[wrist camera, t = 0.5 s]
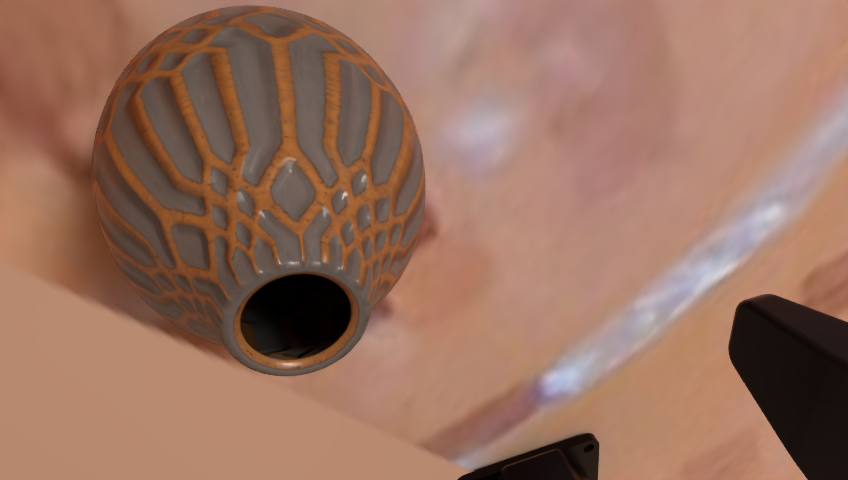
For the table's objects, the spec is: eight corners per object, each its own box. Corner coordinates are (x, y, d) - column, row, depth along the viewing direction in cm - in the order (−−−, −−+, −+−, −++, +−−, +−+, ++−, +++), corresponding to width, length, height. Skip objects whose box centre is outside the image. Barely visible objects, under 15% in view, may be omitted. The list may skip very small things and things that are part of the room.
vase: (41, 82, 16) (-66, 314, 9) (282, -87, 16) (365, 22, 9) (228, 265, 20) (254, 520, 13) (423, 136, 20) (556, 330, 13)
